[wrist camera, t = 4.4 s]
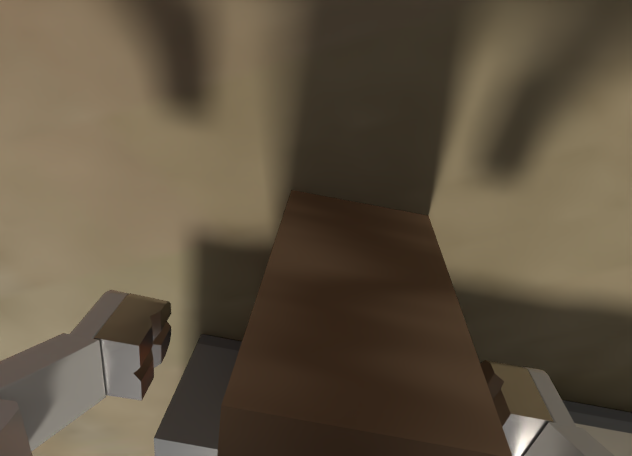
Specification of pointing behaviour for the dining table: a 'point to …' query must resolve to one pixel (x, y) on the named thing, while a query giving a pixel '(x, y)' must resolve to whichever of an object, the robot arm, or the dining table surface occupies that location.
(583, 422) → the socket block
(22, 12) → the dining table surface
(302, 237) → the walnut plug
